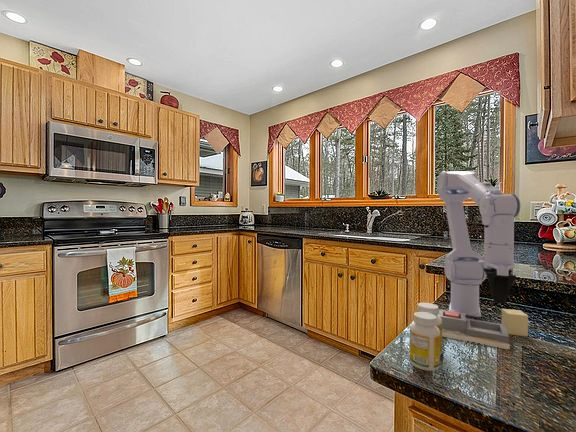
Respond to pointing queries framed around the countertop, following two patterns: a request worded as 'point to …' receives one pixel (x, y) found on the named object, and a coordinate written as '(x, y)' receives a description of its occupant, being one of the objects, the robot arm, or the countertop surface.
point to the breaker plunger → (452, 314)
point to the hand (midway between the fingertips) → (498, 300)
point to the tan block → (515, 322)
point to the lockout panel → (474, 330)
